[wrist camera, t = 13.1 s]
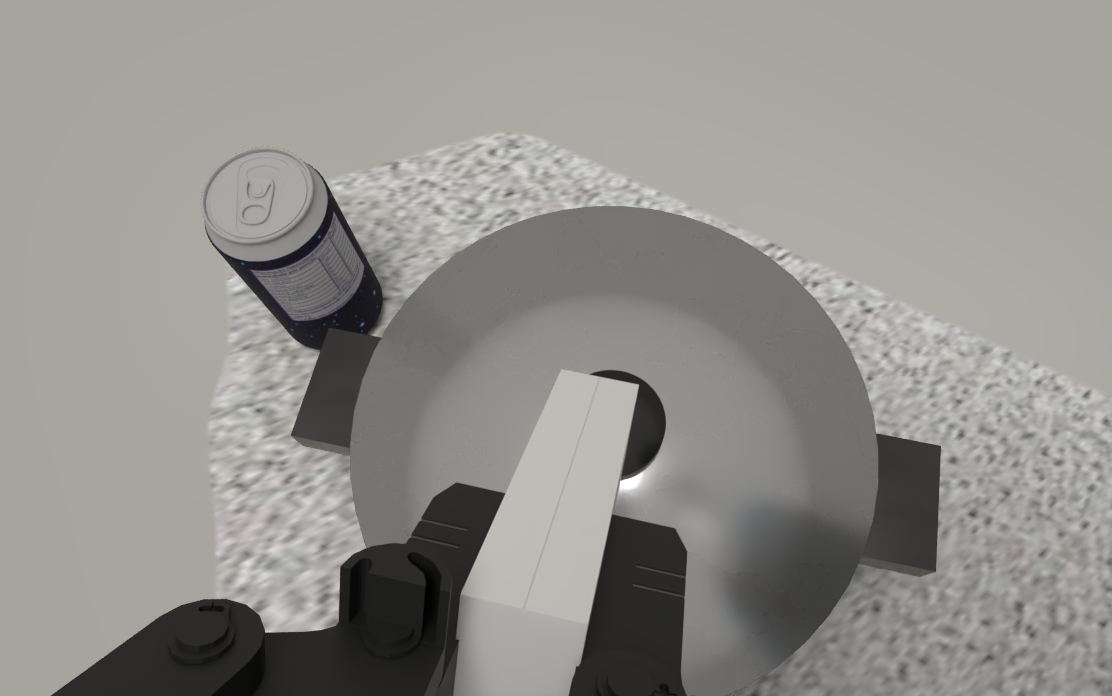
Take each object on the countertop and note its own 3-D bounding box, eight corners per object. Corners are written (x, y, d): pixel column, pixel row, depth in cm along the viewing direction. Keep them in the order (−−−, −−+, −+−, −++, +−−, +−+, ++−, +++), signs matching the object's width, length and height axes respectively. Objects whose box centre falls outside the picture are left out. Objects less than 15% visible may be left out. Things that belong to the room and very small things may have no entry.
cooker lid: (884, 263, 34) (905, 234, 32) (845, 790, 27) (869, 800, 24) (435, 187, 36) (425, 155, 34) (284, 652, 29) (259, 650, 27)
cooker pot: (875, 360, 43) (954, 274, 34) (845, 764, 36) (934, 794, 27) (418, 276, 46) (375, 176, 37) (304, 633, 39) (216, 620, 30)
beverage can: (391, 267, 47) (330, 139, 36) (379, 357, 44) (310, 251, 33) (296, 265, 47) (205, 138, 36) (279, 355, 45) (178, 249, 34)
